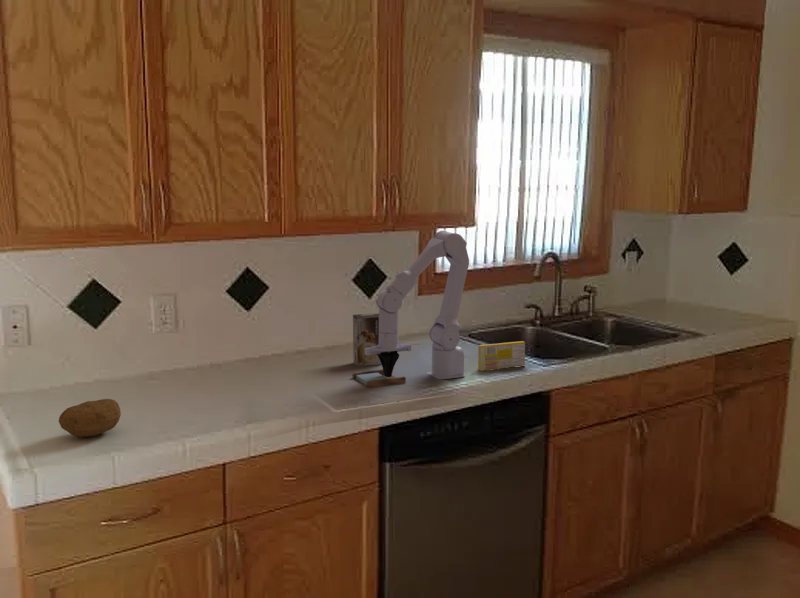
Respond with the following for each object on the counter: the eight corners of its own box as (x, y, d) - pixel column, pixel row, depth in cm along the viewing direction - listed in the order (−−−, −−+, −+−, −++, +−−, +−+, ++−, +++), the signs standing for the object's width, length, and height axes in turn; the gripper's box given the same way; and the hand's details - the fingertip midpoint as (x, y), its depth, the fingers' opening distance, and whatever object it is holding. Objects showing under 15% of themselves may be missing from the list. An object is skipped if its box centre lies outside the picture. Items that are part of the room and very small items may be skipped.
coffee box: (379, 361, 255) (380, 313, 252) (384, 366, 249) (385, 316, 246) (352, 362, 253) (352, 314, 250) (356, 367, 247) (356, 318, 244)
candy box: (521, 365, 253) (522, 340, 251) (525, 367, 251) (526, 342, 249) (477, 369, 247) (478, 344, 245) (480, 371, 245) (481, 345, 243)
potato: (53, 436, 182) (51, 403, 181) (112, 423, 192) (110, 392, 190) (68, 448, 175) (66, 414, 174) (129, 434, 185) (127, 401, 183)
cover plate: (377, 376, 235) (377, 372, 235) (389, 383, 228) (389, 379, 228) (356, 379, 232) (356, 375, 231) (367, 385, 225) (367, 381, 224)
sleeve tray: (388, 375, 238) (388, 368, 238) (405, 384, 229) (405, 377, 228) (352, 379, 233) (352, 372, 232) (368, 389, 223) (368, 382, 223)
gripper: (403, 327, 236) (403, 370, 239) (360, 331, 230) (360, 375, 232) (414, 331, 230) (414, 376, 232) (370, 336, 223) (370, 381, 226)
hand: (387, 376), depth 232 cm, fingers closed
